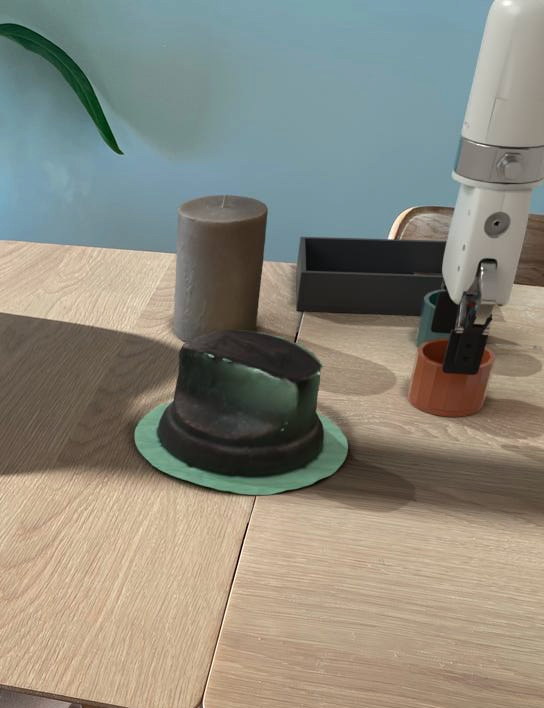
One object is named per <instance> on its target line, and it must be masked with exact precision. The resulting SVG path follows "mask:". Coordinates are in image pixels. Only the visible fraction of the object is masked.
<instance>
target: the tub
mask: <svg viewBox="0 0 544 708" xmlns="http://www.w3.org/2000/svg"><path fill="white" fill-rule="evenodd" d="M446 243H447V240H429V239H428V240H427V239H399V238H398V239H393V238H364V237H363V238H361V237H359V238H358V237H326V236H325V237H323V236H300V237H299V245H298V253H297V254H298V255H297V261H296V269H295V310H296V311H297V312H317V313H318V312H319V313H341V314H343V313H344V314H367V315H368V314H369V315H388V316H389V315H392V316H416V317H418V316H419V317H420V313H421V308H422V304H423V299H424V297H425V296H426V295H427V294H428V293H430V292H433V291H436V290H441V283H442V279H443V273H442V265H443V258H444V253H445V248H446ZM414 273H416V274H414ZM435 274H436V275H435ZM439 274H442V275H439Z"/></svg>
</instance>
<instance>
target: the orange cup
mask: <svg viewBox="0 0 544 708" xmlns="http://www.w3.org/2000/svg"><path fill="white" fill-rule="evenodd" d="M448 341H449V339H448V338H443V339H434V340H430V341H427V342H424V343H422V344H421V345H420V346H419V347H418V348H417V347H416V348H417V349H416V353H415V357H414V361H413V367H412V372H411V376H410V379H409V381H410V382H409V386H408V389H407V390H408V393H407V400H408V402H409V403H410V404H411V406H413V407H414V408H416V409H417V410H420V411H421V412H424V413H427V414H430V415H434V416H439V417H447V418H460V417H467V416H472V415H474V414H476V413H478V412H480V411H481V409H482V408H483V406H484V402H485V401H486V397H487V394H488V390H489V387H490V382H491V379H492V375H493V371H494V367H495V364H496V360H497V357H496V354H495V352H494V351H493V349H490V348H489V347H488V346H485V349H484V353H483V357H482V360H481V364H480V367H479V371H478V373H477V374H475V375H465V374H449V373H444V372H443V370H442V365H443V361H444V357H445V353H446V349H447V345H448Z"/></svg>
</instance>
